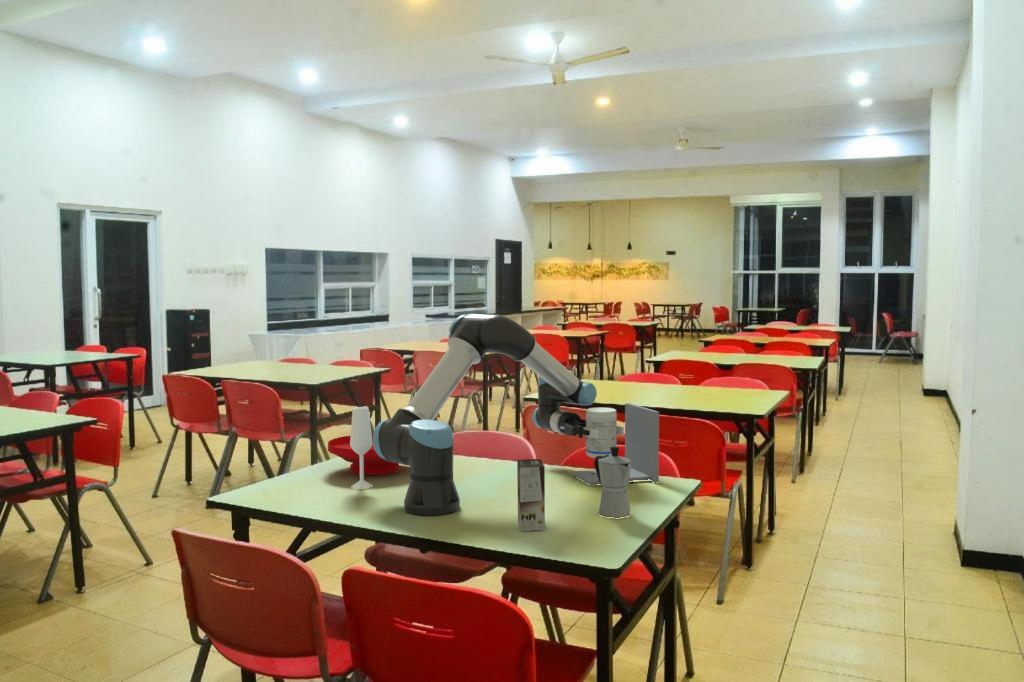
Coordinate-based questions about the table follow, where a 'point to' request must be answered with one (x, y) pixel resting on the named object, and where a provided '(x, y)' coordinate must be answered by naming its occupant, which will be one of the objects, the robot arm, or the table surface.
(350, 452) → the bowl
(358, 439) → the champagne flute
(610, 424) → the supplement tub
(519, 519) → the coffee box
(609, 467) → the coffee maker
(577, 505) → the table surface
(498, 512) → the table surface
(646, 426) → the socket stand
